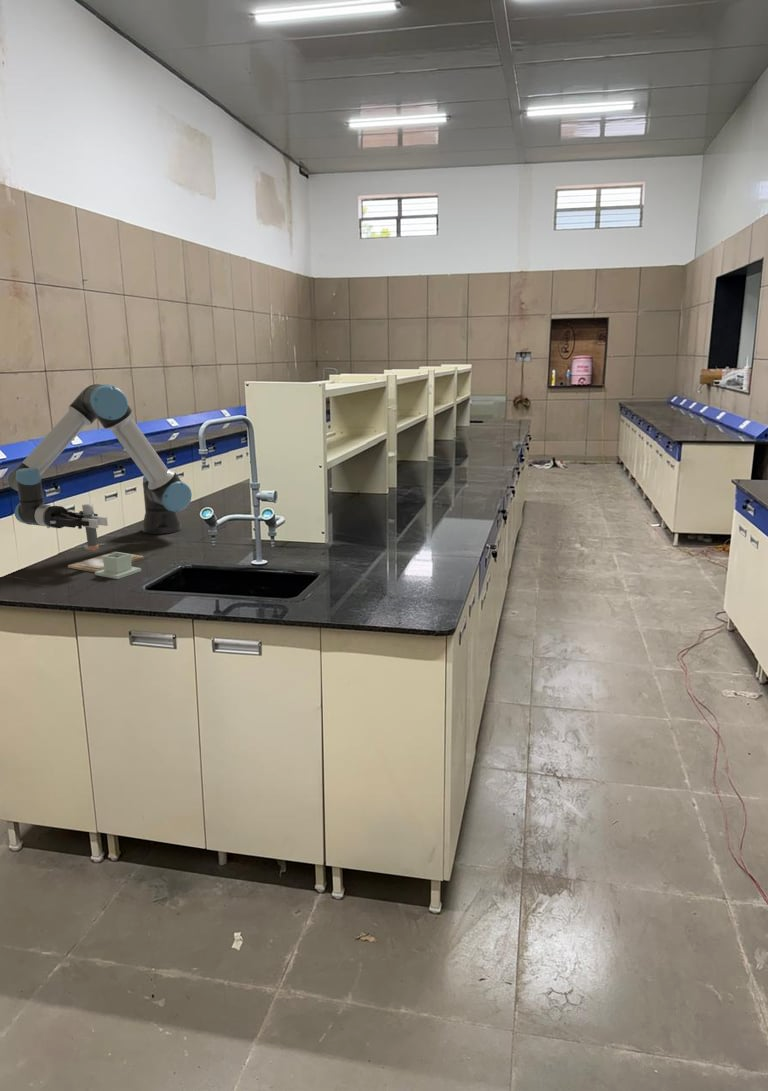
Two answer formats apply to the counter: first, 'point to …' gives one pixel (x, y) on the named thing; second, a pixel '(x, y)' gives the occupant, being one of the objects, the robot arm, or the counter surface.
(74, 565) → the clipboard
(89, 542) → the marker
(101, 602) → the counter surface
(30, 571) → the counter surface
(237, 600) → the counter surface
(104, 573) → the square socket holder
